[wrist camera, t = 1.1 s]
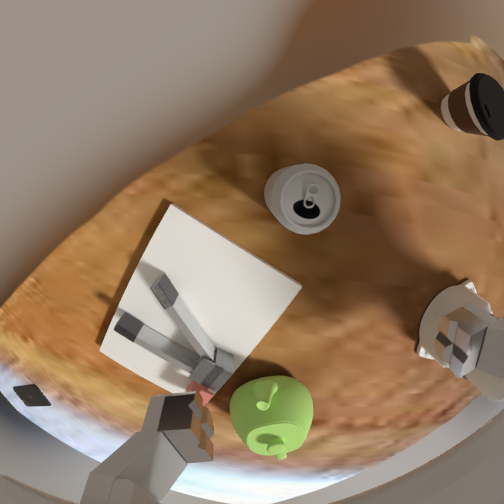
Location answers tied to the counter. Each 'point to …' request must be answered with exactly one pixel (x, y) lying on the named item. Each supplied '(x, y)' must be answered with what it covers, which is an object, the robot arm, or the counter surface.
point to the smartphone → (31, 395)
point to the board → (199, 297)
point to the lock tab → (202, 389)
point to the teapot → (272, 414)
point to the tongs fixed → (178, 353)
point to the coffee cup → (476, 107)
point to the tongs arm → (182, 317)
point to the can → (303, 198)
